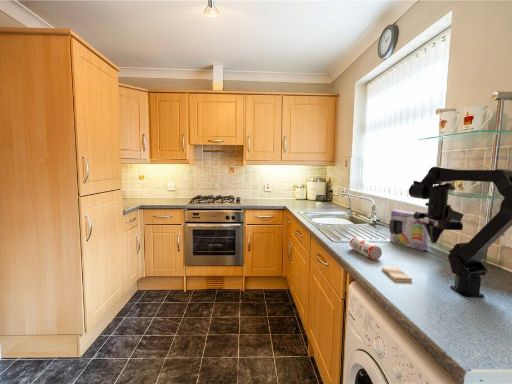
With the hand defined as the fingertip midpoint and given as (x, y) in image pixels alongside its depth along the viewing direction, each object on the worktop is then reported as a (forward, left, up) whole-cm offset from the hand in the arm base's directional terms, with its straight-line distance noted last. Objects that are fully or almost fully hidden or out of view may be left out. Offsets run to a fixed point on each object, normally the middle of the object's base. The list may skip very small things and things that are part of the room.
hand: (433, 242), depth 97 cm
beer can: (+15, +14, -10) cm, 22 cm away
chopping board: (0, +13, -13) cm, 18 cm away
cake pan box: (+38, -12, -13) cm, 42 cm away
